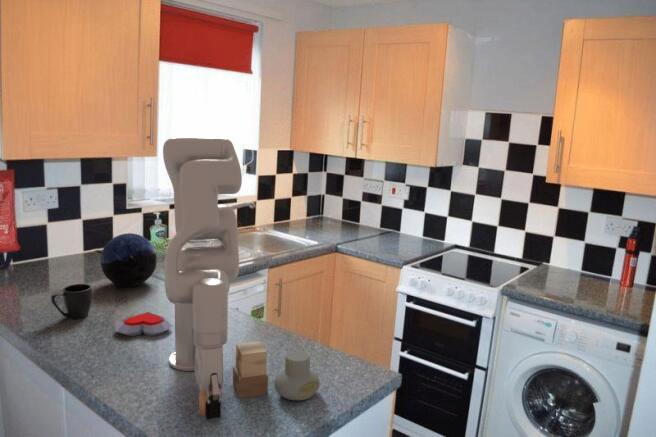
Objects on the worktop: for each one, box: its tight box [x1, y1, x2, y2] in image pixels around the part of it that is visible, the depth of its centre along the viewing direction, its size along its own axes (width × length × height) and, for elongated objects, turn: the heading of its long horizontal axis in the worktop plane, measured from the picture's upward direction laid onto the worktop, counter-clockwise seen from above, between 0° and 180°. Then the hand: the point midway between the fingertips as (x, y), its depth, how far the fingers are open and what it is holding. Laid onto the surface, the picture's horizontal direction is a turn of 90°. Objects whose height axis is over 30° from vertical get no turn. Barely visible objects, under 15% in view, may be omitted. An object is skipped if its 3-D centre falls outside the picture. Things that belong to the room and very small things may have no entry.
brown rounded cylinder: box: [198, 386, 222, 418], centre depth 119 cm, size 5×5×5 cm
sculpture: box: [114, 311, 173, 337], centre depth 163 cm, size 17×4×15 cm
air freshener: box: [273, 351, 320, 401], centre depth 128 cm, size 11×8×10 cm
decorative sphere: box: [99, 232, 158, 288], centre depth 200 cm, size 20×20×20 cm
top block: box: [235, 340, 267, 378], centre depth 129 cm, size 6×6×6 cm
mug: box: [50, 283, 93, 320], centre depth 168 cm, size 8×12×10 cm
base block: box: [232, 365, 269, 399], centre depth 130 cm, size 7×7×5 cm
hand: (209, 407), depth 120 cm, fingers open, 7 cm apart
